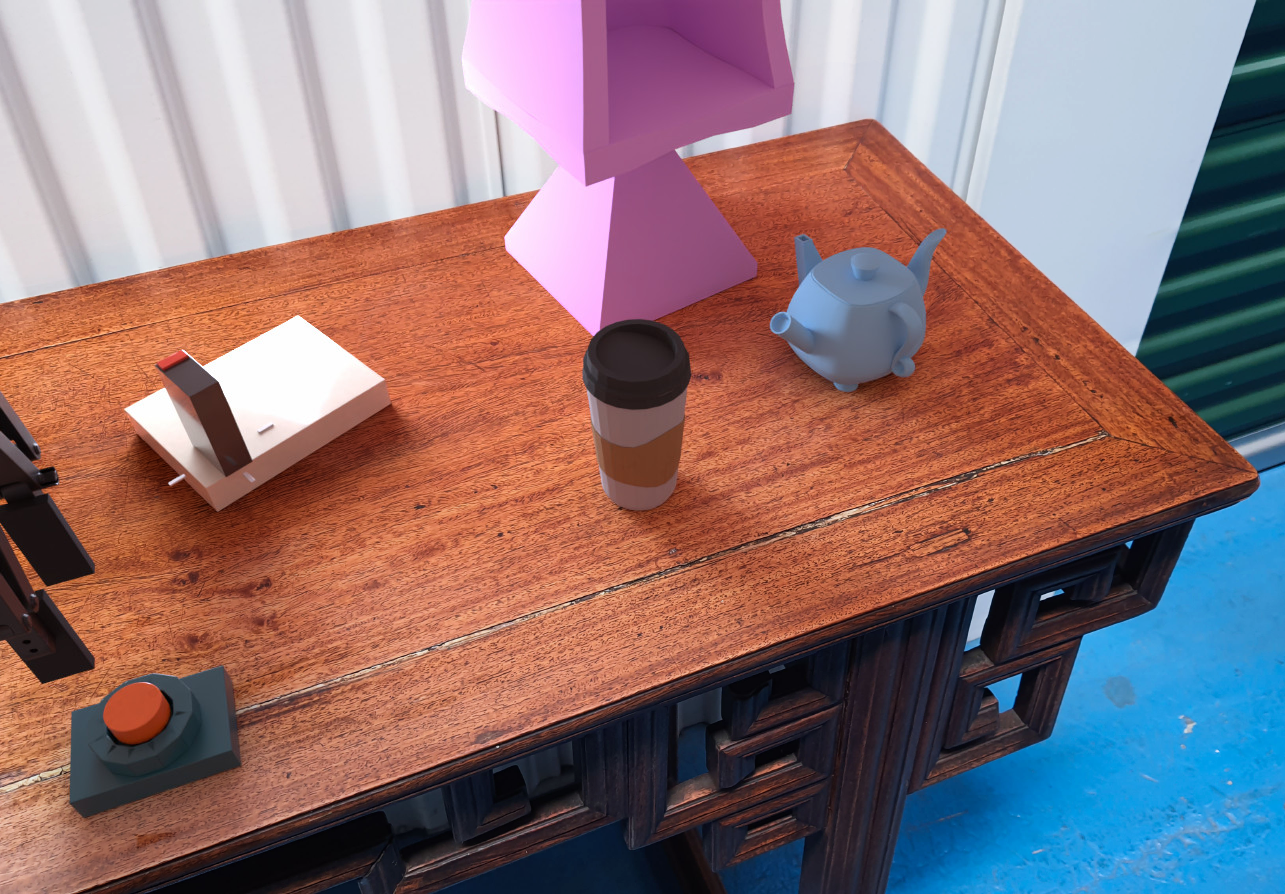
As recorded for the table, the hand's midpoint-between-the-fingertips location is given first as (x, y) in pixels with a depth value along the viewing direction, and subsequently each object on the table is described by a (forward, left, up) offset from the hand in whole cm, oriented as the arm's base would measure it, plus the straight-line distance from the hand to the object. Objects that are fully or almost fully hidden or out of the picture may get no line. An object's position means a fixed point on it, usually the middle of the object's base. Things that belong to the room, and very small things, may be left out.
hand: (69, 620), depth 57 cm
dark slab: (+17, +19, -12) cm, 28 cm away
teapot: (+66, -11, -15) cm, 68 cm away
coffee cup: (+40, -8, -15) cm, 43 cm away
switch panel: (+22, +22, -15) cm, 34 cm away
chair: (+63, +15, -15) cm, 66 cm away
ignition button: (0, 0, -11) cm, 11 cm away
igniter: (0, 0, -15) cm, 15 cm away
